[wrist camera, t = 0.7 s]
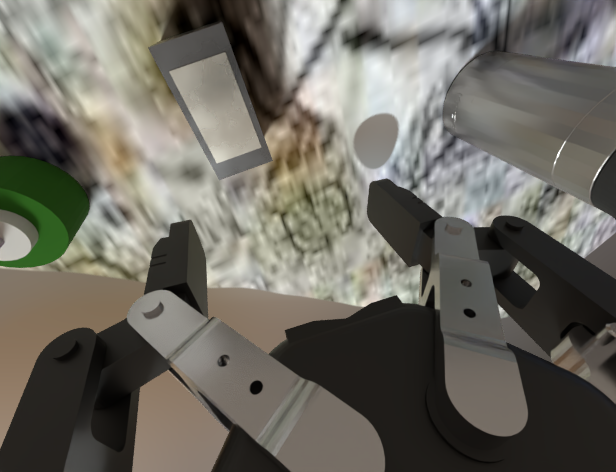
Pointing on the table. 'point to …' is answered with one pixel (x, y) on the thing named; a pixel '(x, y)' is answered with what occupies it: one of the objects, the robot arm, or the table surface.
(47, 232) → the candle
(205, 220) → the table surface
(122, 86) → the table surface
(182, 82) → the block
